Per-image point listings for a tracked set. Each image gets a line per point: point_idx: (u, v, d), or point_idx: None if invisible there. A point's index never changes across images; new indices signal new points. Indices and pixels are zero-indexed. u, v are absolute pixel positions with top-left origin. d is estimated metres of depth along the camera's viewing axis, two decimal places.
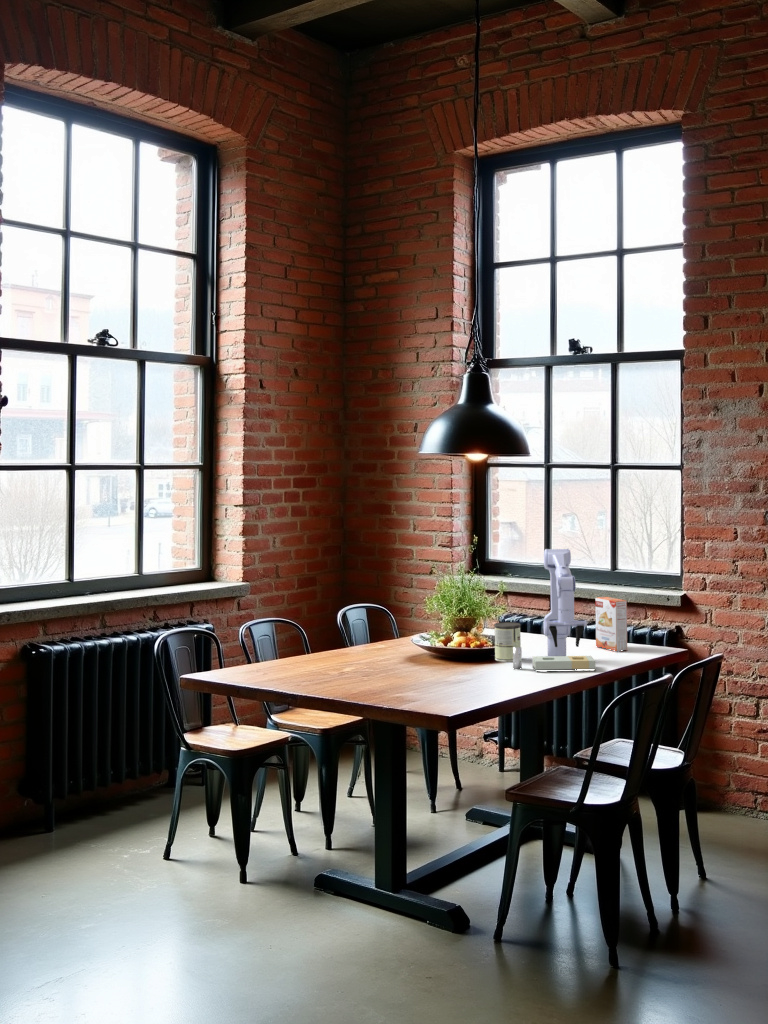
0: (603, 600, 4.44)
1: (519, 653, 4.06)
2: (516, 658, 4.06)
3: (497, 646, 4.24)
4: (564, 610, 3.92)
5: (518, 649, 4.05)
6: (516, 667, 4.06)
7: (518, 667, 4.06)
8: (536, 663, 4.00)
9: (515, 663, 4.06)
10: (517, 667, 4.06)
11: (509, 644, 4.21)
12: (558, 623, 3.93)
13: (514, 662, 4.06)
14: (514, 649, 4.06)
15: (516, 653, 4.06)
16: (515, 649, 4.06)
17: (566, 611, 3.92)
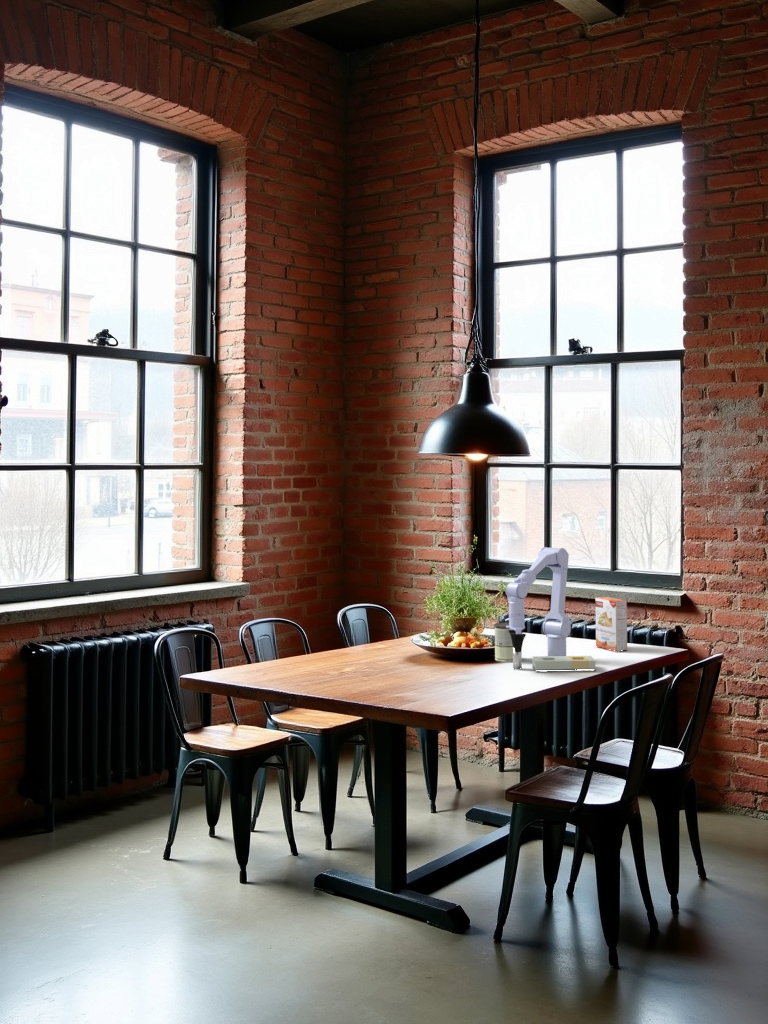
0: (603, 600, 4.44)
1: (519, 653, 4.06)
2: (516, 658, 4.06)
3: (497, 646, 4.24)
4: None
5: None
6: (516, 667, 4.06)
7: (518, 667, 4.06)
8: (536, 663, 4.00)
9: (515, 663, 4.06)
10: (517, 667, 4.06)
11: (509, 644, 4.21)
12: None
13: (514, 662, 4.06)
14: (514, 649, 4.06)
15: (516, 653, 4.06)
16: None
17: (509, 615, 4.07)
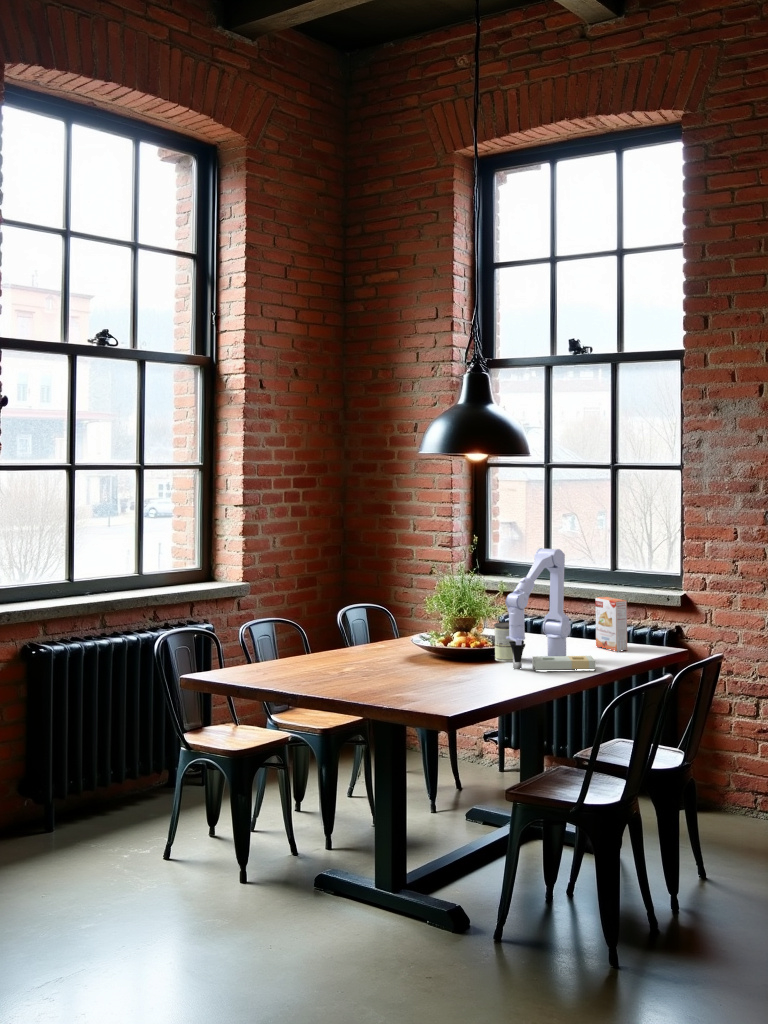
0: (603, 600, 4.44)
1: None
2: None
3: (497, 646, 4.24)
4: None
5: None
6: (516, 667, 4.06)
7: (518, 667, 4.06)
8: (536, 663, 4.00)
9: (515, 663, 4.06)
10: (517, 667, 4.06)
11: (509, 644, 4.21)
12: None
13: (514, 662, 4.06)
14: None
15: None
16: None
17: (509, 626, 4.07)
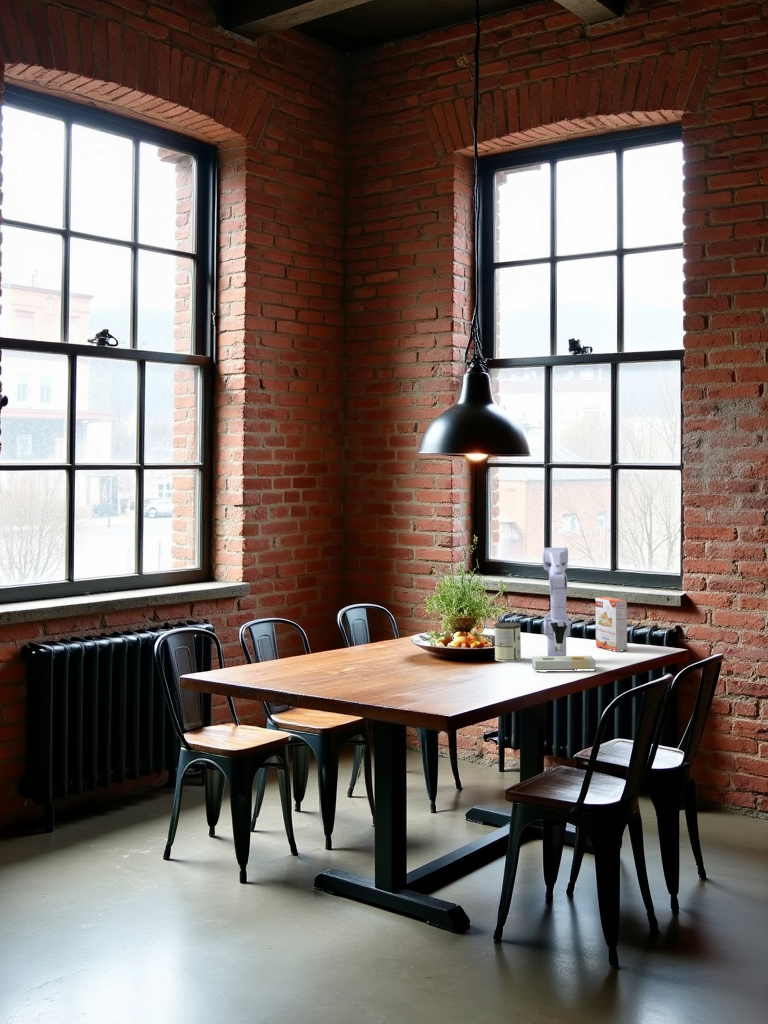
0: (603, 600, 4.44)
1: None
2: None
3: (497, 646, 4.24)
4: None
5: None
6: (557, 649, 4.04)
7: (559, 649, 4.04)
8: (536, 663, 4.00)
9: (556, 644, 4.04)
10: (558, 649, 4.04)
11: (509, 644, 4.21)
12: None
13: (555, 644, 4.04)
14: None
15: None
16: None
17: None
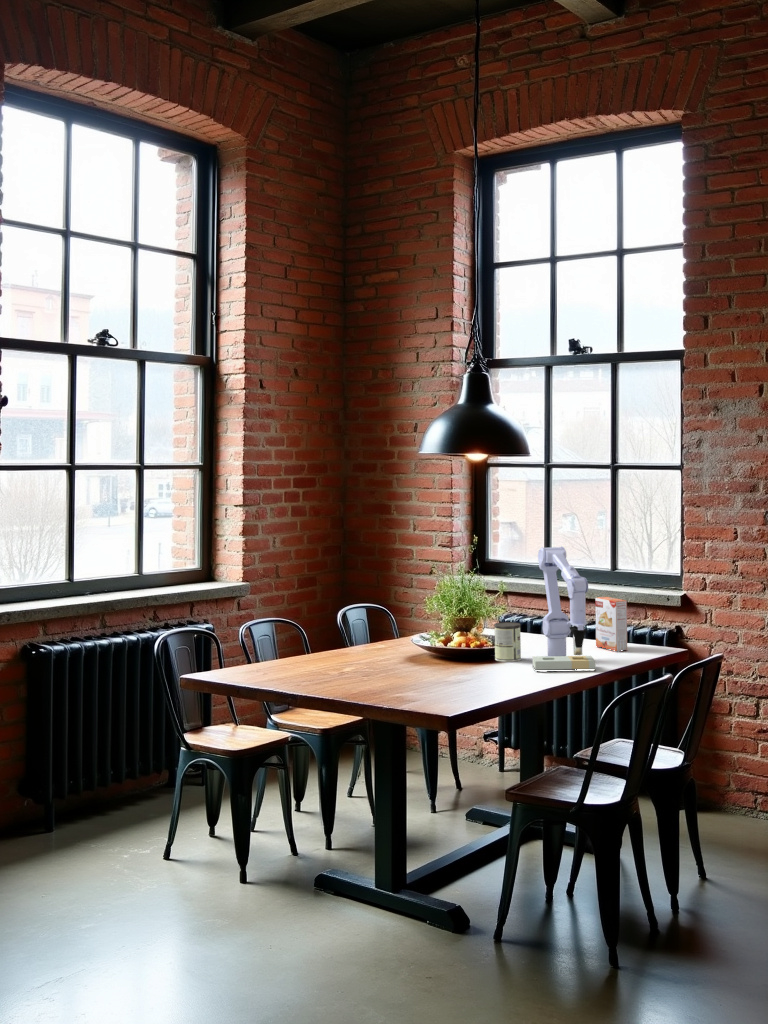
0: (603, 600, 4.44)
1: None
2: None
3: (497, 646, 4.24)
4: None
5: None
6: (577, 653, 4.03)
7: (579, 653, 4.03)
8: (536, 663, 4.00)
9: (576, 648, 4.03)
10: (578, 653, 4.03)
11: (509, 644, 4.21)
12: None
13: (575, 648, 4.03)
14: None
15: None
16: None
17: (570, 611, 4.04)
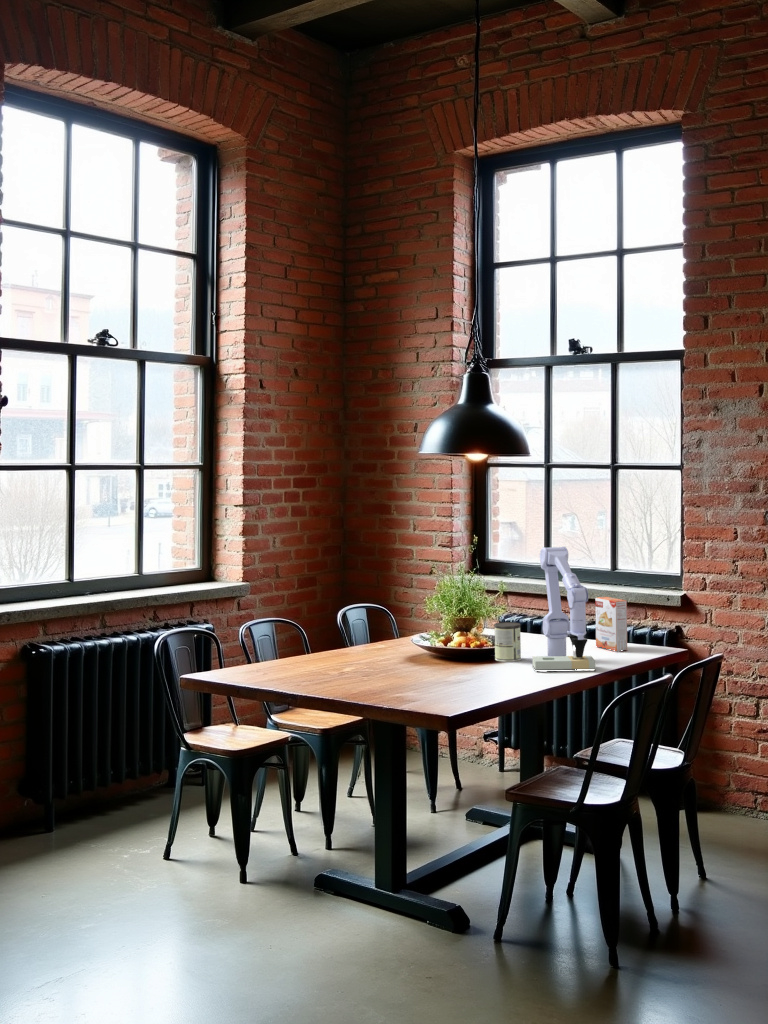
0: (603, 600, 4.44)
1: None
2: None
3: (497, 646, 4.24)
4: None
5: None
6: None
7: None
8: (536, 663, 4.00)
9: None
10: None
11: (509, 644, 4.21)
12: None
13: (575, 659, 4.04)
14: None
15: None
16: None
17: (570, 620, 4.04)
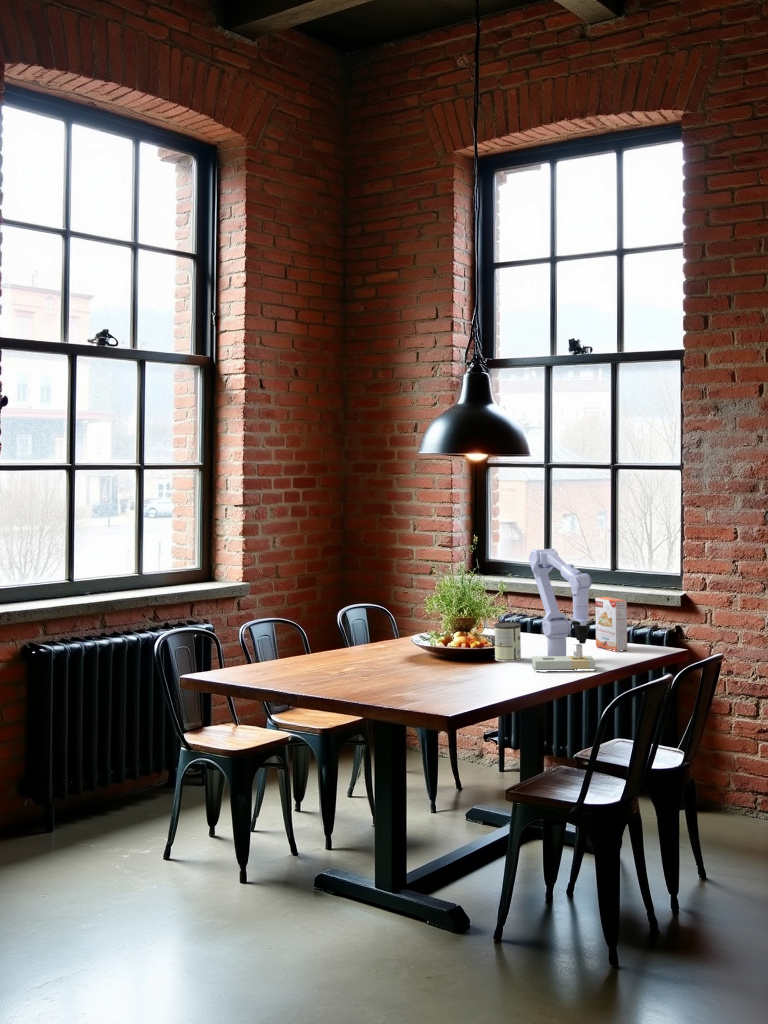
0: (603, 600, 4.44)
1: (580, 650, 4.03)
2: (576, 656, 4.03)
3: (497, 646, 4.24)
4: None
5: (579, 646, 4.03)
6: None
7: None
8: (536, 663, 4.00)
9: None
10: None
11: (509, 644, 4.21)
12: None
13: (575, 659, 4.04)
14: (575, 646, 4.03)
15: (577, 650, 4.03)
16: (576, 646, 4.03)
17: (573, 606, 4.09)
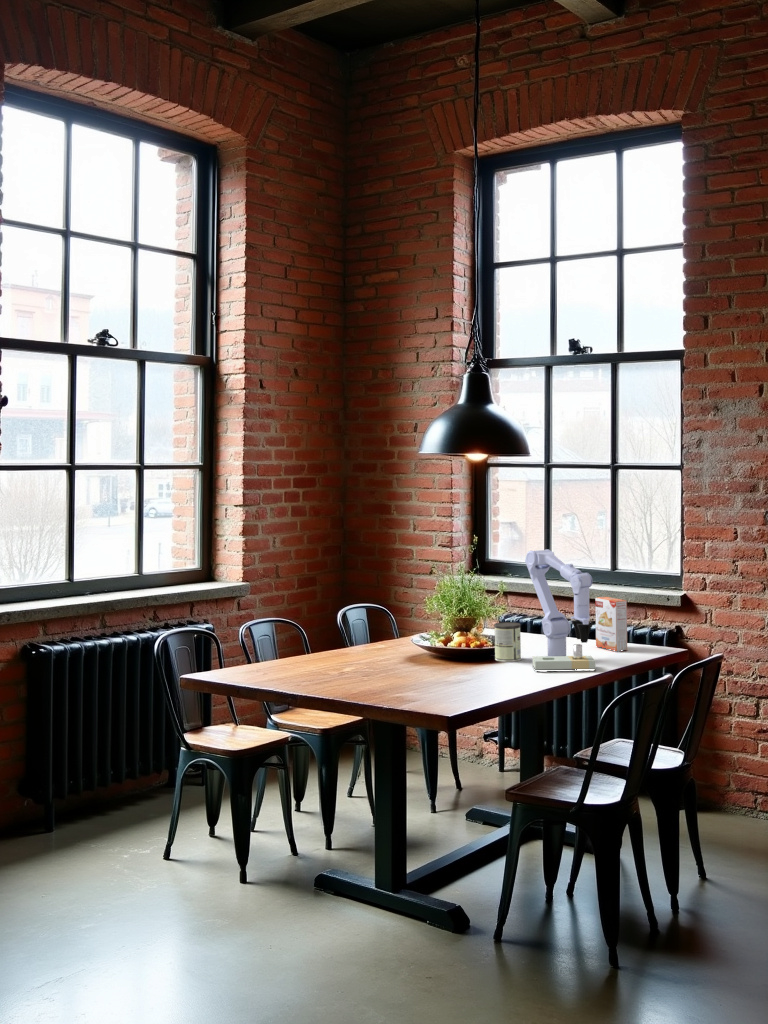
0: (603, 600, 4.44)
1: (580, 650, 4.03)
2: (576, 656, 4.03)
3: (497, 646, 4.24)
4: (574, 604, 4.11)
5: (579, 646, 4.03)
6: None
7: None
8: (536, 663, 4.00)
9: None
10: None
11: (509, 644, 4.21)
12: None
13: (575, 659, 4.04)
14: (575, 646, 4.03)
15: (576, 650, 4.03)
16: (576, 646, 4.03)
17: (574, 606, 4.11)
